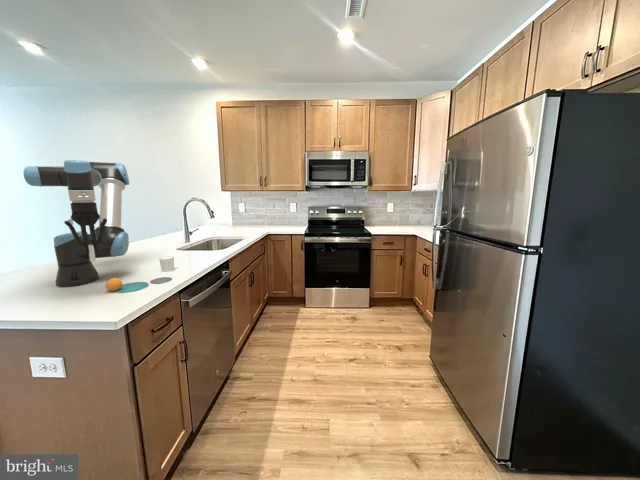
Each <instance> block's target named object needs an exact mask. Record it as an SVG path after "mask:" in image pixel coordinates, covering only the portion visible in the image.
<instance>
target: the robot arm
mask: <svg viewBox="0 0 640 480" xmlns="http://www.w3.org/2000/svg"><path fill="white" fill-rule="evenodd" d="M23 178H24V180H25V182H26V184H27V185H29V186H31V187H67V190H68V197H69V201H70V202H71V203H70V209H71V215H70V218H69V219H67V220H64V221H63V223H64V224H65V225H66V226H67V227H68V228H69V231H70V232H68V233H63V234H59V235H57V236H55V237H54V238H53V248H54V251H55V252H54V253H55V257H56V261H57V267H58V268H57V272H56V277H55V280H54V281H55V282H54V283H55V285H56V287H60V288H62V287H65V288H66V287H67V288H68V287H77V286H82V285H87V284H90V283H93V282H95V281H98V280H99V279H100V275H99V272H98V270H97V269H96V267H95V266H94V264H93V262H97V261H96V260H97V259H102V258H116V257H121V256H124V255H126V253H127V252H128V249H129V246H130V245H129V243H130V241H129V239H130V238H129V233H127V232H126V231H125V229H124V228H123V227H122V204H123V203H122V197H123V196H122V195H123V194H122V191H124V190H125V189H126V186H128V185H130V179H129V174H128V171H127V167H126V166H125V164H123V163H121V162H119V163H118V162H96V161H87V160H82V159H81V160H79V159H66V160H64V162H63V165H57V166H56V165H54V166H53V165H52V166H40V165H38V166H37V165H35V166H29V165H28V166H26V167H24V169H23ZM97 186H98V187H99V188H100V205H99V212H98V206H97V202H95V201H96V194H95V193H96V192H95V187H97ZM98 221H99V222H98ZM74 222H75V224H76V225H78V226H79V227H80V231H77V230H76V228H75V227H74ZM97 222H98V226H97V227H95V225H96V223H97ZM87 226H88V228H89V233H88V232H87Z"/></svg>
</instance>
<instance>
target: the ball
mask: <svg viewBox="0 0 640 480" xmlns="http://www.w3.org/2000/svg"><path fill="white" fill-rule="evenodd" d="M122 285H123V282H122V280H121V279H120V278H117V277H112V278H109V279H108V280H107V281H106V282H105V287H106V290H109V291H111V292H113V291H116V290H119V289H120V288H121V286H122Z"/></svg>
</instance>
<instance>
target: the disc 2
mask: <svg viewBox="0 0 640 480" xmlns="http://www.w3.org/2000/svg"><path fill="white" fill-rule="evenodd" d="M172 280H173V278H172V277H170V276H168V277H167V276H163V277H157V278H153V279H151V280H150V281H149V283H150V284H151V285H152V284H154V285H157V284H164V283H165V284H166V283H169V282H170V281H172Z"/></svg>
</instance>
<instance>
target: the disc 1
mask: <svg viewBox="0 0 640 480" xmlns="http://www.w3.org/2000/svg"><path fill="white" fill-rule="evenodd" d="M148 287H149V282H146V281H135V282H128V283H124V284H123V283H122V286H121V288H120V289H119V290H116V291H112V292H114V293H118V294H120V293H121V294H122V293H123V294H125V293H132V292H137V291H140V290H143V289H146V288H148Z"/></svg>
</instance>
